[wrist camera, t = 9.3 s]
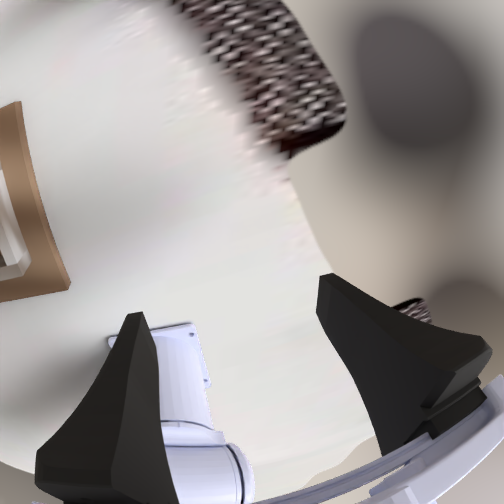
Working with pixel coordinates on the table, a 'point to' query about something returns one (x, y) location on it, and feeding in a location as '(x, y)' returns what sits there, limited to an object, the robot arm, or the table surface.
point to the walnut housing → (24, 219)
